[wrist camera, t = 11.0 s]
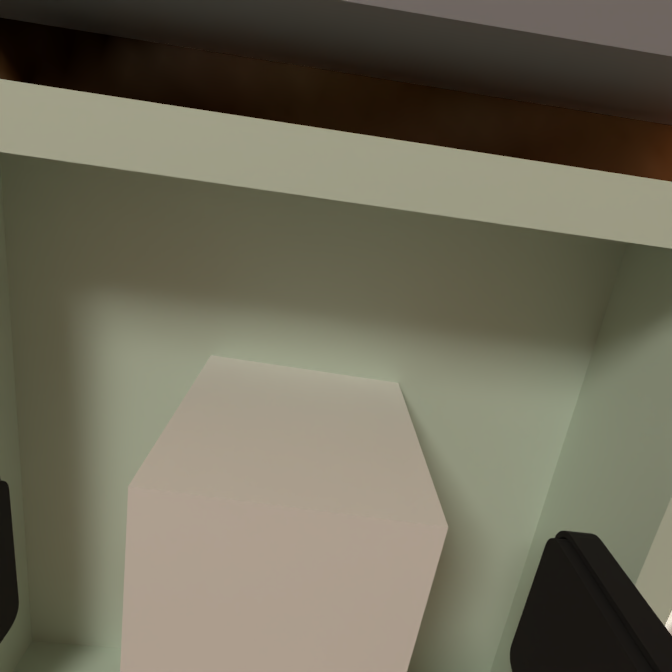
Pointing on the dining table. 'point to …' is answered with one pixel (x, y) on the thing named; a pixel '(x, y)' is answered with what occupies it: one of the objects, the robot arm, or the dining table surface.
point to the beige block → (280, 528)
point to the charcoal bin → (420, 42)
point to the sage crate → (326, 342)
